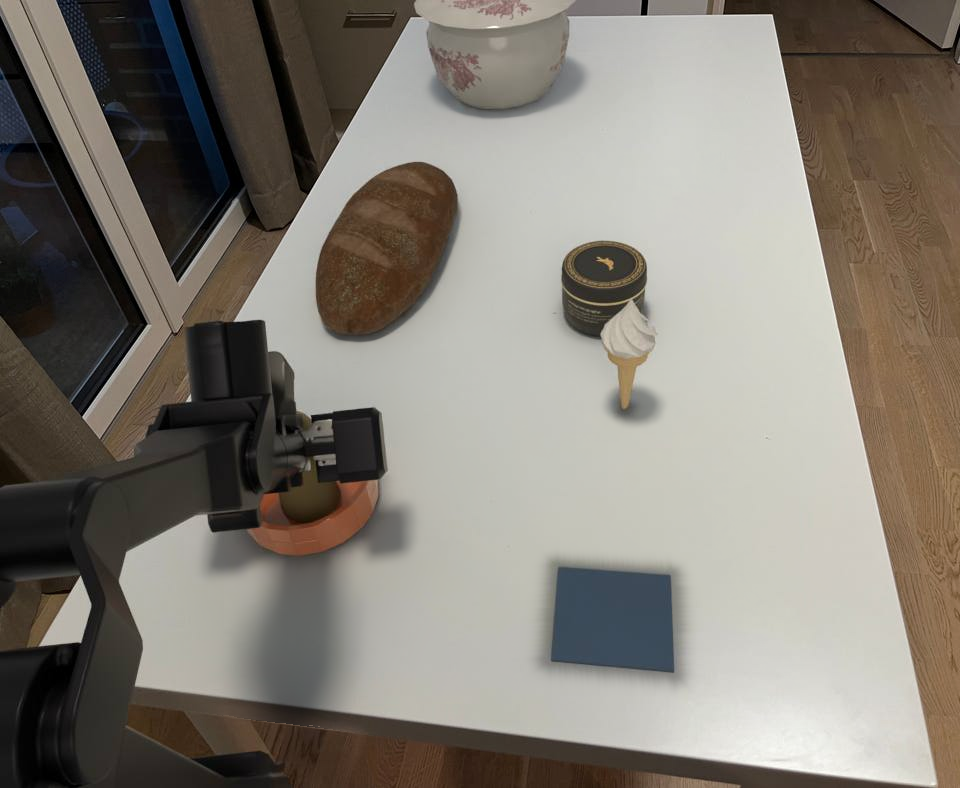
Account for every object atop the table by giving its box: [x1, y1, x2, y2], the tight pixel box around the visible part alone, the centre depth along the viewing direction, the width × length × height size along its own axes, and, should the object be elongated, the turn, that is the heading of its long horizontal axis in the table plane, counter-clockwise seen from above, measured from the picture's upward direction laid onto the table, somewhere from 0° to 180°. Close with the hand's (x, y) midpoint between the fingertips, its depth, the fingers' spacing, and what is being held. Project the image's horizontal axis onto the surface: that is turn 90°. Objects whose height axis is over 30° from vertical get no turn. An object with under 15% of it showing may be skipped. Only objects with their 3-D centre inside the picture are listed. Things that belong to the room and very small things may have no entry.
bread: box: [315, 161, 459, 336], centre depth 107 cm, size 16×36×8 cm, turn 168°
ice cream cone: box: [600, 299, 659, 410], centre depth 81 cm, size 6×6×15 cm
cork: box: [279, 410, 341, 523], centre depth 76 cm, size 6×6×11 cm
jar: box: [560, 240, 648, 337], centre depth 95 cm, size 10×10×8 cm
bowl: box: [246, 480, 379, 557], centre depth 79 cm, size 14×14×4 cm
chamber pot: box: [413, 0, 577, 110], centre depth 137 cm, size 28×28×21 cm
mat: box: [550, 566, 675, 673], centre depth 68 cm, size 10×9×1 cm
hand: (298, 448), depth 77 cm, fingers closed on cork, 5 cm apart
